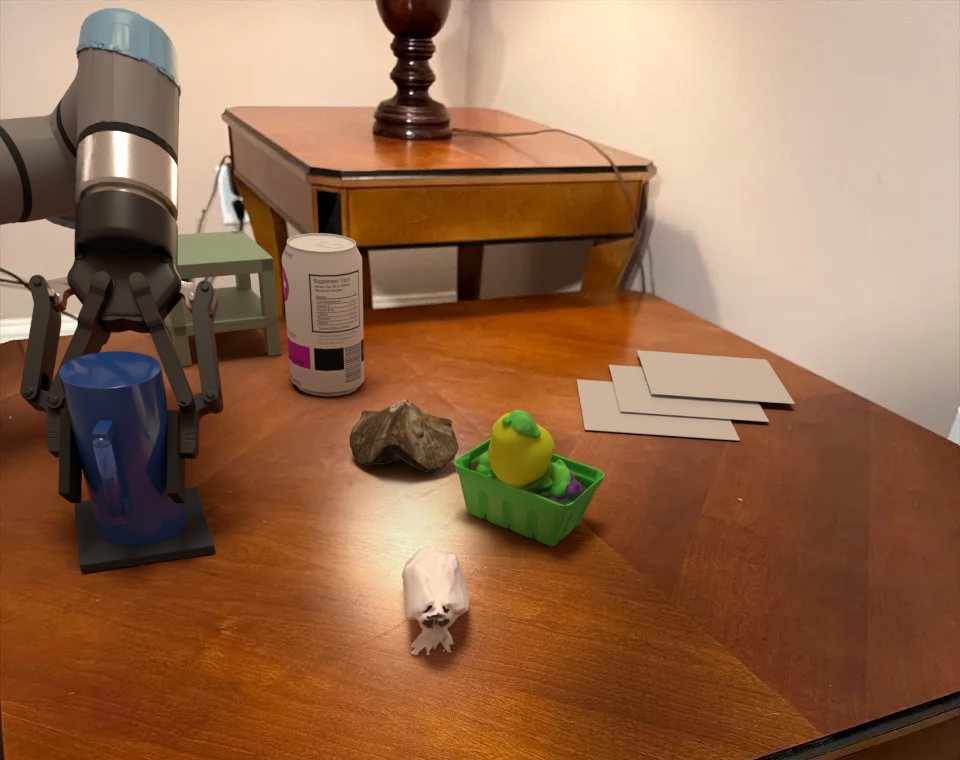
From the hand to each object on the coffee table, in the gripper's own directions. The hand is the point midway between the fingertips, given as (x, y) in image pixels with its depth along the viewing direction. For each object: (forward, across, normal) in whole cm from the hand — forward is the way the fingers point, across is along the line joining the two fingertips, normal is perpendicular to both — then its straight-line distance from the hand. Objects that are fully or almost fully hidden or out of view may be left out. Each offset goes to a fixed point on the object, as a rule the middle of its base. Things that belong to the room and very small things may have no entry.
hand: (123, 498), depth 66 cm
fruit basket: (0, -32, -7) cm, 33 cm away
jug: (+1, 0, -5) cm, 5 cm away
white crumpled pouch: (+10, -23, +2) cm, 25 cm away
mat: (+1, 0, -6) cm, 6 cm away
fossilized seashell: (-8, -22, -15) cm, 28 cm away
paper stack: (-20, -55, -27) cm, 65 cm away
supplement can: (-21, -14, -28) cm, 38 cm away
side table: (-30, 0, -37) cm, 47 cm away
